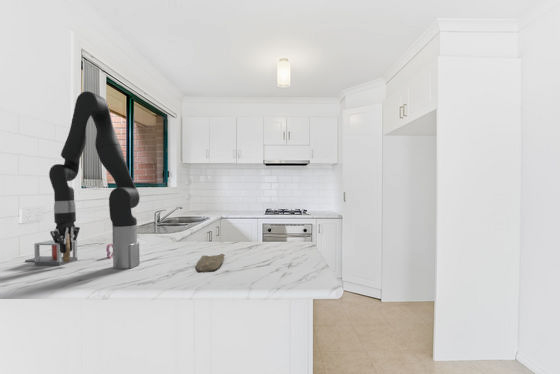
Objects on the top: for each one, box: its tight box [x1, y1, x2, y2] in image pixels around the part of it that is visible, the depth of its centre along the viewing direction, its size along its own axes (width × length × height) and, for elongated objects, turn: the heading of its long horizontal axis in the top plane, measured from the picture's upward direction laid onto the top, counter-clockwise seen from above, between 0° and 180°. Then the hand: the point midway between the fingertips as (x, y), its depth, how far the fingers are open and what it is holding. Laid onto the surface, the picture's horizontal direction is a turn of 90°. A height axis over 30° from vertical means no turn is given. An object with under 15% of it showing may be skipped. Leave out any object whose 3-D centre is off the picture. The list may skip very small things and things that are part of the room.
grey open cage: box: [34, 239, 78, 267], centre depth 143 cm, size 12×10×9 cm
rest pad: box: [24, 255, 52, 263], centre depth 149 cm, size 8×8×1 cm
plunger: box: [51, 245, 57, 260], centre depth 143 cm, size 3×3×6 cm
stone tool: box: [195, 253, 225, 273], centre depth 136 cm, size 11×3×25 cm
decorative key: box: [105, 243, 113, 259], centre depth 159 cm, size 7×1×20 cm
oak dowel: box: [62, 233, 71, 263], centre depth 136 cm, size 2×2×12 cm
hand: (66, 252), depth 136 cm, fingers closed on oak dowel, 2 cm apart
